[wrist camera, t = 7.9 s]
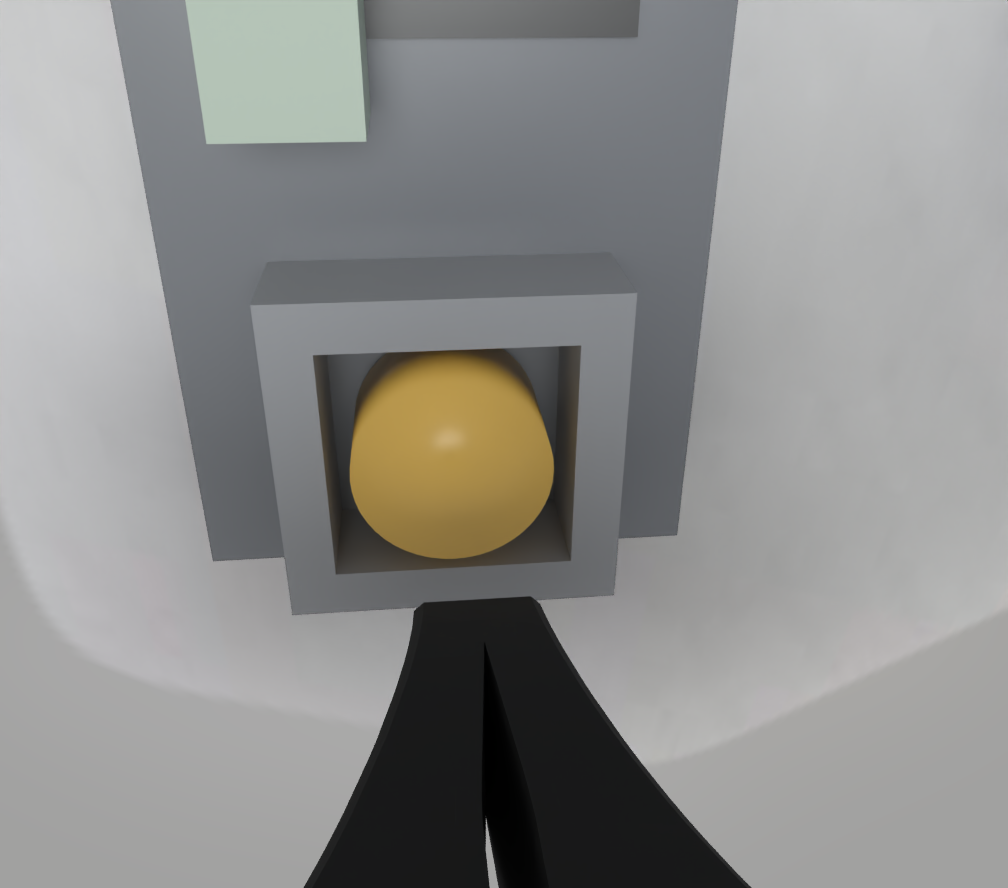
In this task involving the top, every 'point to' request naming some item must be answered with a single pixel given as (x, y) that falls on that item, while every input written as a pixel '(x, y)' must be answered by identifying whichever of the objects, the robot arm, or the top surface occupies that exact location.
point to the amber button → (449, 451)
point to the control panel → (444, 274)
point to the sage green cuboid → (281, 70)
